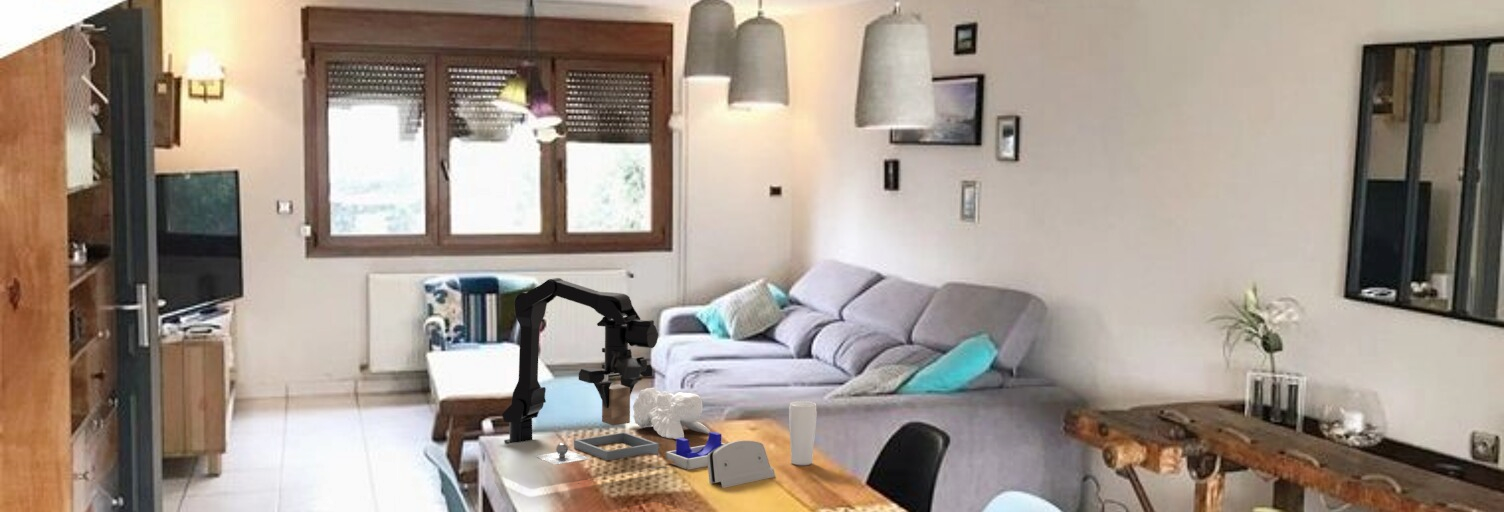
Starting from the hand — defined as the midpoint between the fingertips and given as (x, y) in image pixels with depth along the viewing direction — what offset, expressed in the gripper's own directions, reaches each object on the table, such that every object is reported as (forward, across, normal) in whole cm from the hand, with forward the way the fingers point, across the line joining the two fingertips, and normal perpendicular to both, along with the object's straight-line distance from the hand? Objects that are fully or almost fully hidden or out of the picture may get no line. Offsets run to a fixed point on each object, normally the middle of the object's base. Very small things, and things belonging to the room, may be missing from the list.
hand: (615, 406), depth 322 cm
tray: (+12, 0, 0) cm, 13 cm away
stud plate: (+12, -15, +1) cm, 19 cm away
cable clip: (+13, +15, -16) cm, 25 cm away
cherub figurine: (+13, +27, +13) cm, 33 cm away
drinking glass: (+13, +33, -33) cm, 48 cm away
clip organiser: (+12, +15, -17) cm, 26 cm away
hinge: (+13, +12, -35) cm, 39 cm away
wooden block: (+4, 0, 0) cm, 4 cm away
